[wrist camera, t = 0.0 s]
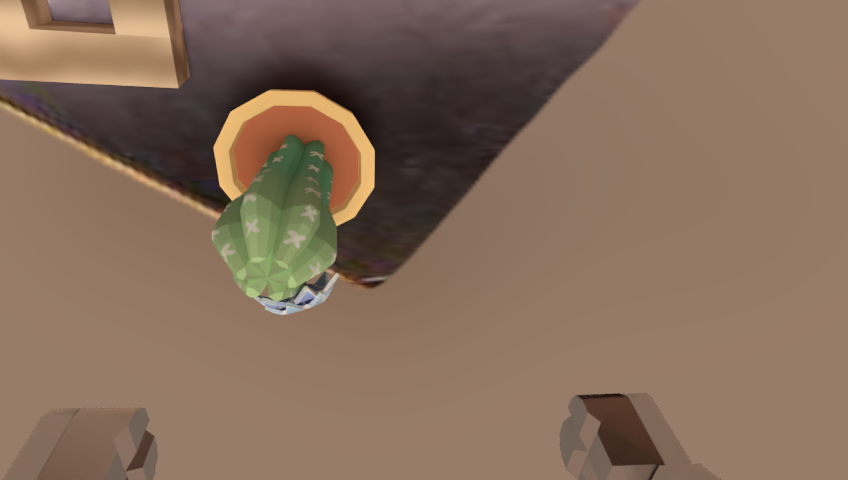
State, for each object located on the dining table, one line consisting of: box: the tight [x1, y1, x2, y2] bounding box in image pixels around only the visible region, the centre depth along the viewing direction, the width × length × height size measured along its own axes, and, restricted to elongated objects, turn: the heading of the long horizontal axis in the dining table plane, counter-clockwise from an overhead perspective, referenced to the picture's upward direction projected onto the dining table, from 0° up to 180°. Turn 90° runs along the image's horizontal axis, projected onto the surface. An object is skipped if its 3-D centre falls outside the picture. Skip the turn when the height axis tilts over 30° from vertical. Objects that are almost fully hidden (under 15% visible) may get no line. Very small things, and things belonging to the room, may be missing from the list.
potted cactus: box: [212, 89, 375, 315], centre depth 46 cm, size 15×15×25 cm
